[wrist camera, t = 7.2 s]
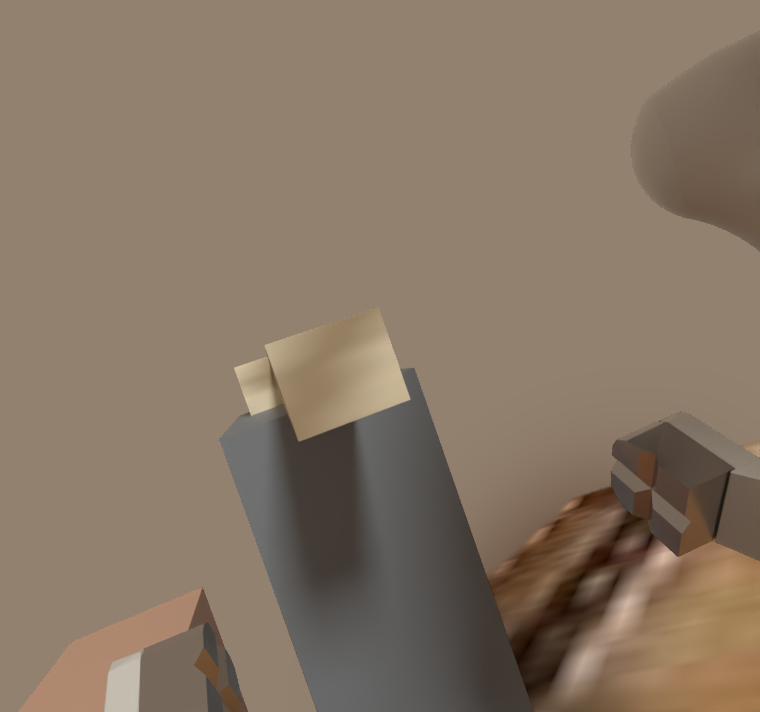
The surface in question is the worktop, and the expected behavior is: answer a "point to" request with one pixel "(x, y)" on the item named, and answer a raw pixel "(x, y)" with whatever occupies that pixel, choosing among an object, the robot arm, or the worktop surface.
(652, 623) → the worktop surface
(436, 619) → the grey upright block
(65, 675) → the tan upright block
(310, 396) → the T-bar
